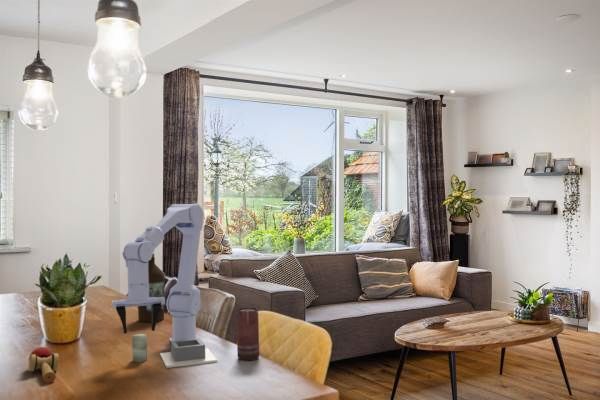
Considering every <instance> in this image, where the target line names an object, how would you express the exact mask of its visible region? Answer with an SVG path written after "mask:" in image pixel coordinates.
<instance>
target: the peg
mask: <svg viewBox="0 0 600 400" xmlns="http://www.w3.org/2000/svg"><path fill="white" fill-rule="evenodd" d="M147 336H148V335H147V334H146V333H144V334H143V333H138V334H134V335H132V336H131V339H132V340H131V341H132V344H131V345H132V347H131V348H132V362H133V361H134V362H133V363H143V362H146V361H148V337H147Z"/></svg>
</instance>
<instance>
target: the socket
mask: <svg viewBox="0 0 600 400" xmlns="http://www.w3.org/2000/svg"><path fill="white" fill-rule="evenodd" d="M159 356H160V358H161V360H162V362H163V364H164V366H165V369H166V368H167V369H168V368H169V369H170V368H176V367H185V366H186V367H187V366H194V365H203V364H211V363H218V359H217V358H216V356H215V355H214V354H213V353H212V352H211V350H210V349H209V348H208V347H206V344H205V343H204V342H203V341H202V339H201V338H196V339H189V340H180V341H170V351H169V352H168V351H167V352H160V353H159Z"/></svg>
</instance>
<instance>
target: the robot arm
mask: <svg viewBox="0 0 600 400" xmlns="http://www.w3.org/2000/svg"><path fill="white" fill-rule="evenodd" d="M204 215H205V213H204V211H203V208H202V206H201V205H200V204H198V203H188V204H186V203H183V204H182V203H181V204H178V203H177V204H176V203H172V204H170V206H169V207H168V208H167V209H166V214H165V215H164V216H163V217H162V219H161V220H160V221H158V223H157V224H156V225H155V226H147V227H146V228H145V231H144V232H142V233H141V234H140V235H139V236H137V237H136V239H135V240H134V241H129V242H128V243H127V244H125V246H124V248H123V251H122V254H121V255H122V257H123V259H124V262H125V266H126V268H127V293H128V294H127V298H125V299H124V298H123V299H118V300H117V299H115V300H111V308H112V309H115V310H116V313H117V315H118V317H119V319H120V322H121V325H122V328H123V334H127V333H128V331H127V330H128V329H127V310H126V308H133V307H138V306H146V305H151V313H152V322H150V323H151V325H150V327H151V331H152V332H155V331H156V330H155V329H156V324H157V322H158V321H157V318H158V315H159V313H160V311H161V308H162V306H161V305H164V306H166V309H167V311H168V312H169V313H170V314H169V315H170V316H171V317H172V321H171V322H172V328H171V329H172V337H170V338H169V342H171V341H180V340H189V339H197V335H196V334H197V333H196V332H197V331H196V328H197V327H196V325H197V324H196V322H197V321H196V315H198V313H199V311H200V309H201V305H202V301H201V290H200V289H199V288H198V287H197V286H196V285H195V279H196V278H195V277H196V270H197V262H198V255H199V254H198V253H199V245H200V241H201V240H200V239H201V231H202V229H203V224H204ZM173 227H175V228H176V229H177V230H178V231H180V232H181V234H182V244H181V250H180V251H181V252H180V258H179V267H178V273H177V280H176V281H177V282H176V283H175V284H174V285H173V286H172V287H171V288H170V289H169V292H168V293H169V294H168V296H167V298H165V296H164V297H149V278H148V261H149V260H151V258H152V255H153V254H154V252H155V250H156V249H157V248H158V246H159V245H161V244H162V242H163V241H164V240H165V235H166V234H167V233H168V232H169V231H170V230H171V229H173ZM143 303H145V304H143Z"/></svg>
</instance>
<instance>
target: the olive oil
mask: <svg viewBox="0 0 600 400" xmlns="http://www.w3.org/2000/svg"><path fill="white" fill-rule="evenodd" d="M155 259H156V257H155V253H153V255H152V258H151V260H149V261H148V278H149V297H164V298H165V288H166V286H165V283H166V277H165V273H164V272H163V270H162V269H160V268H159V267H158V265H156V262H155ZM143 304H145V303H143ZM161 306H162V308H161V311H160V313H159V315H158V318H157V321H156V322H160V321H163V320H164V319H165V305H161ZM137 315H138V316H137V317H138V321H139V322H141V323H151V322H152V313H151V305H146V306H137Z"/></svg>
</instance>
